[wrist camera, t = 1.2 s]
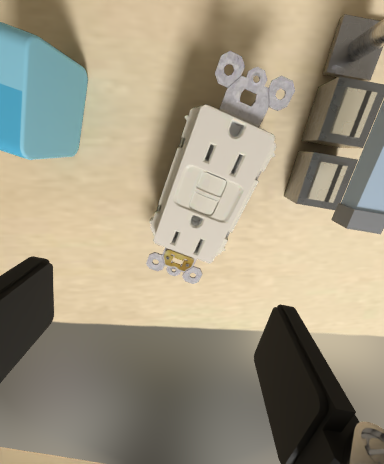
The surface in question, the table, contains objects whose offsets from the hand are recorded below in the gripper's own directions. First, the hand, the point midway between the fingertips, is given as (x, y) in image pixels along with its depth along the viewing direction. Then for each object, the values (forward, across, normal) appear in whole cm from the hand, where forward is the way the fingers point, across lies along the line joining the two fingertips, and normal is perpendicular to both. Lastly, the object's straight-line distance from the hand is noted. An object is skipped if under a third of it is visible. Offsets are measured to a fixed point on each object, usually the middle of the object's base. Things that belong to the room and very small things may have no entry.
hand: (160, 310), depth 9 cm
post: (+29, -17, -22) cm, 41 cm away
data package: (+29, +20, -8) cm, 36 cm away
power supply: (+29, -18, -14) cm, 37 cm away
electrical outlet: (+30, -2, -2) cm, 30 cm away
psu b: (+29, -18, -6) cm, 35 cm away
